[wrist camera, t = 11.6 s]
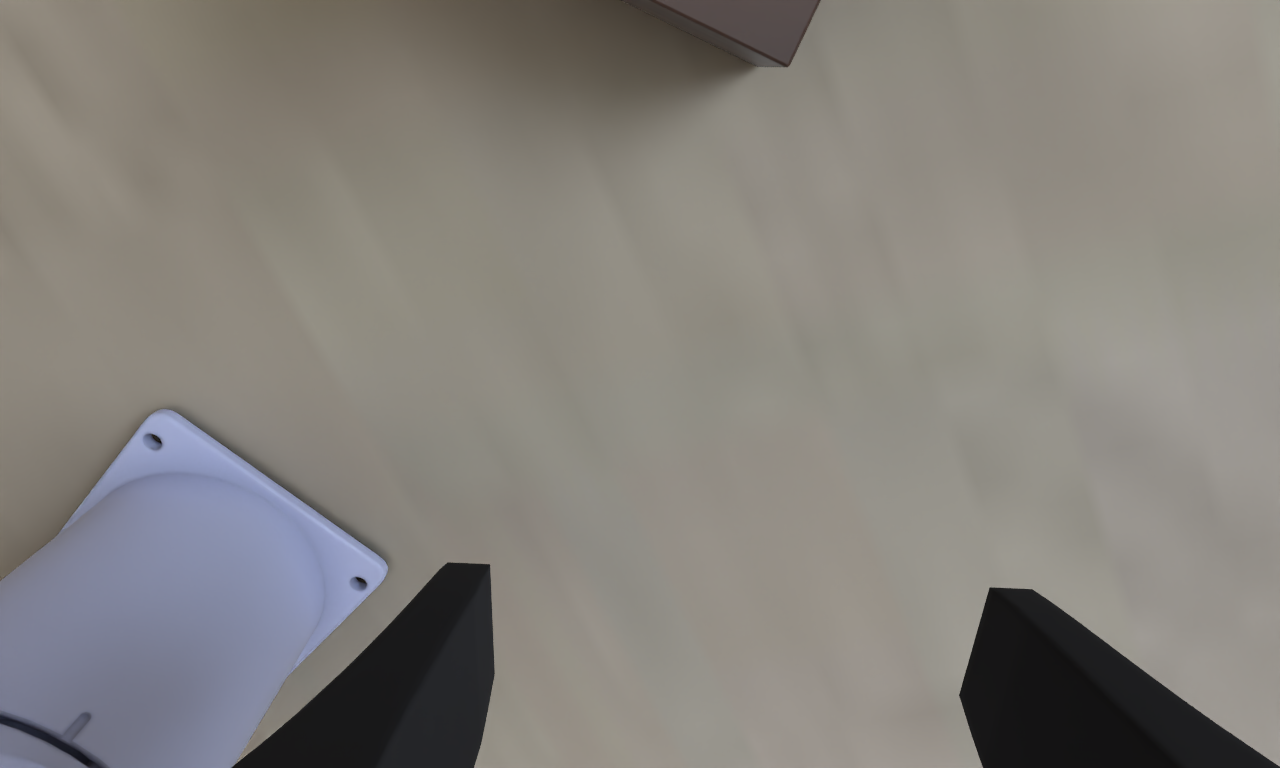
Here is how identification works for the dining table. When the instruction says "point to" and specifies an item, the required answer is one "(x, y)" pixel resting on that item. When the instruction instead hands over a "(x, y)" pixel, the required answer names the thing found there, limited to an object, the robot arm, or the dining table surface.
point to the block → (740, 25)
